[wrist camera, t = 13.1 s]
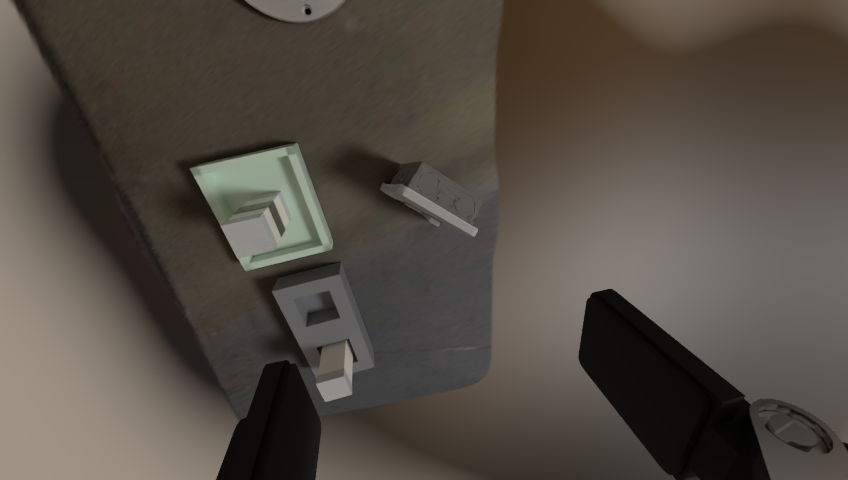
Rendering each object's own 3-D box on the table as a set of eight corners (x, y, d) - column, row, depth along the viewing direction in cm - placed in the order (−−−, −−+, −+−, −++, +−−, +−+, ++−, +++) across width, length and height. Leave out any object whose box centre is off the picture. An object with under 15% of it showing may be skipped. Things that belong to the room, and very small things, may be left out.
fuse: (323, 336, 44) (315, 384, 36) (346, 329, 44) (343, 376, 37) (331, 352, 45) (325, 401, 38) (353, 346, 45) (351, 394, 38)
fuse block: (277, 277, 39) (271, 291, 36) (340, 261, 40) (339, 274, 37) (320, 365, 46) (318, 382, 44) (373, 351, 47) (374, 366, 44)
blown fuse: (250, 197, 34) (220, 226, 27) (281, 190, 34) (259, 217, 27) (262, 224, 35) (237, 258, 28) (292, 218, 36) (274, 250, 28)
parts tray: (200, 163, 32) (189, 168, 30) (297, 142, 33) (292, 145, 31) (251, 261, 38) (245, 271, 36) (333, 241, 38) (331, 249, 36)
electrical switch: (377, 188, 36) (387, 208, 28) (400, 149, 36) (417, 158, 27) (441, 224, 40) (467, 252, 32) (464, 189, 39) (496, 209, 31)
